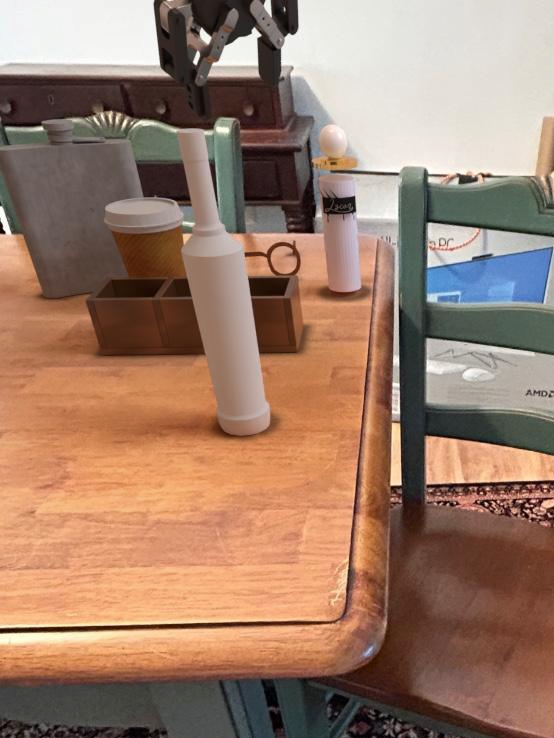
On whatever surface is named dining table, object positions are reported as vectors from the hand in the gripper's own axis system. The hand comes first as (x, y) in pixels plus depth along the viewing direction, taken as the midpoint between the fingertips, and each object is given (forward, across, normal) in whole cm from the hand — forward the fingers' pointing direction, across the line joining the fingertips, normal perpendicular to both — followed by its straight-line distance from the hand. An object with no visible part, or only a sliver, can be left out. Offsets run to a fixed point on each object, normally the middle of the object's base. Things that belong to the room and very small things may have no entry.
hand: (235, 98), depth 72 cm
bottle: (+12, +20, +22) cm, 32 cm away
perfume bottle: (+30, -12, +6) cm, 33 cm away
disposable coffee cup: (+32, +7, -9) cm, 34 cm away
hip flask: (+37, +9, -20) cm, 43 cm away
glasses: (+37, -10, -10) cm, 40 cm away
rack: (+24, +10, +4) cm, 26 cm away
